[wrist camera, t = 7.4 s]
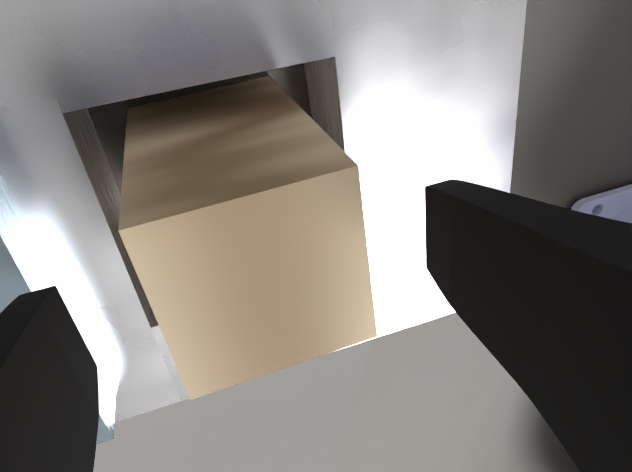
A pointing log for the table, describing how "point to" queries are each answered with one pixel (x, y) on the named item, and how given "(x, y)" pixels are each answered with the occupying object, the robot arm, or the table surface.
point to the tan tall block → (244, 233)
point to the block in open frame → (219, 64)
